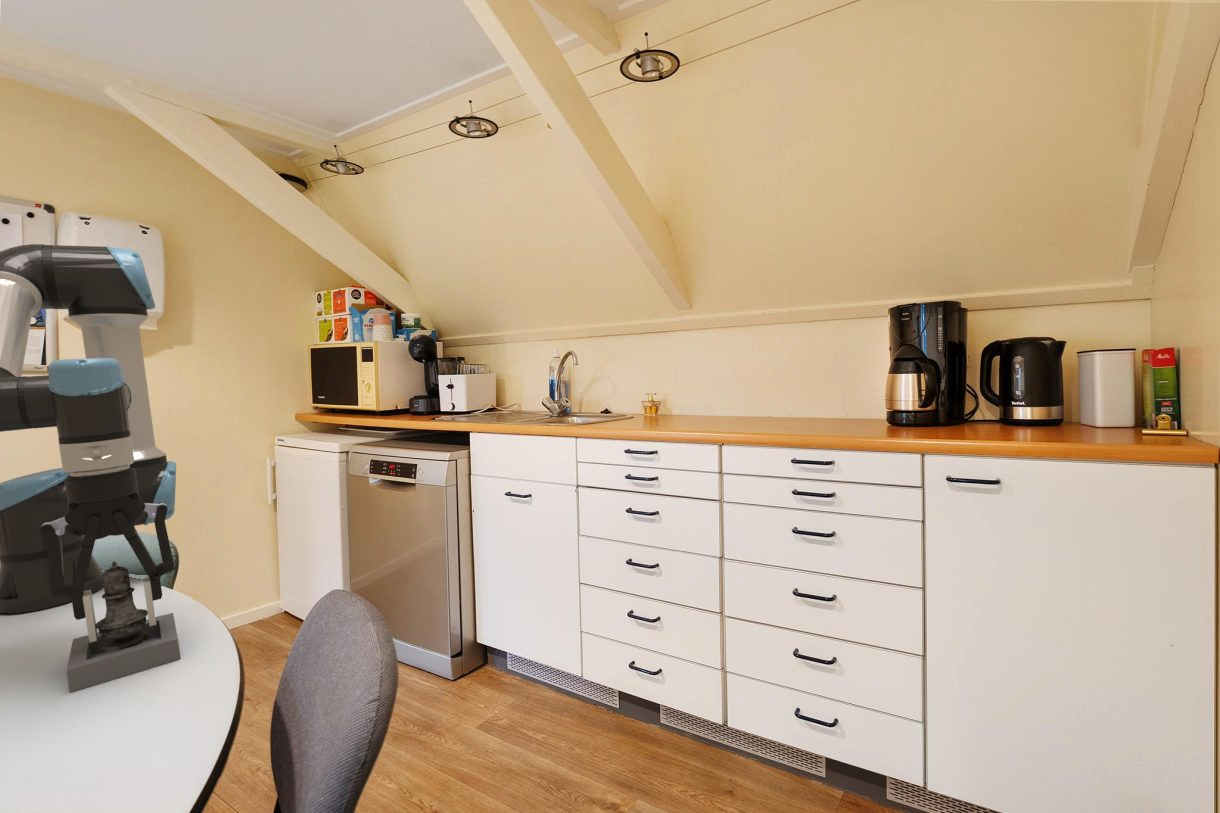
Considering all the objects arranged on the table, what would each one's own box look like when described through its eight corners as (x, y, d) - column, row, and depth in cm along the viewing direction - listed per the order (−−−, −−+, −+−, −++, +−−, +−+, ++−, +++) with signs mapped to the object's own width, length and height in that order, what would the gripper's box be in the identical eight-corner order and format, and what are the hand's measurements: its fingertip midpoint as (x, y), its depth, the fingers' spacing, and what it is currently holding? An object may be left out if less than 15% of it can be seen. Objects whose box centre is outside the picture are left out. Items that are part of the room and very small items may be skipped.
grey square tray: (76, 658, 85) (73, 639, 84) (175, 631, 92) (173, 612, 92) (69, 692, 76) (66, 670, 75) (180, 658, 83) (177, 638, 83)
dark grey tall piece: (121, 654, 80) (109, 569, 79) (87, 652, 81) (74, 568, 80) (162, 633, 86) (151, 554, 85) (129, 631, 87) (117, 553, 86)
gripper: (-2, 487, 72) (28, 665, 75) (185, 462, 84) (205, 616, 86) (8, 478, 78) (35, 644, 80) (182, 456, 90) (201, 601, 92)
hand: (123, 629), depth 83 cm, fingers closed on dark grey tall piece, 6 cm apart
